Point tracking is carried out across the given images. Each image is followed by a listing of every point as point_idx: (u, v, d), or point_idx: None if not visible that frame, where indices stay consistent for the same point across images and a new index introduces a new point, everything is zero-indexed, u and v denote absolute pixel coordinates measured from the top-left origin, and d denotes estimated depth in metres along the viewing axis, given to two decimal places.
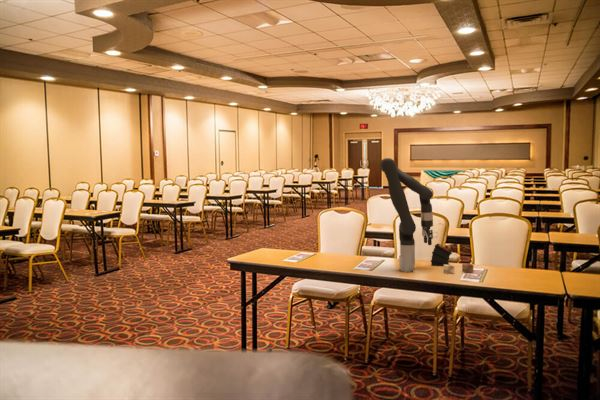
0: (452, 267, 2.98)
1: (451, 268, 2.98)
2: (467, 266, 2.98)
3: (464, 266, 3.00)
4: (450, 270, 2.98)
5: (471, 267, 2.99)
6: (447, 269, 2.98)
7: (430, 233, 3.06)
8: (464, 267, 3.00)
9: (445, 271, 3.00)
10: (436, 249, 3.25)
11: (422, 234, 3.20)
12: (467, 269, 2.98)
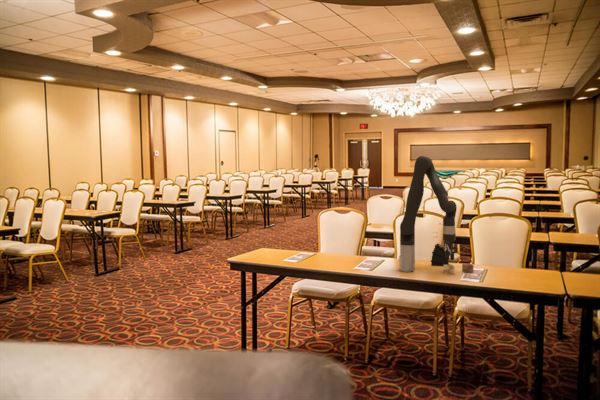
0: (452, 267, 2.98)
1: (451, 268, 2.98)
2: (467, 266, 2.98)
3: (464, 266, 3.00)
4: (450, 270, 2.98)
5: (471, 267, 2.99)
6: (447, 269, 2.98)
7: (453, 248, 2.93)
8: (464, 267, 3.00)
9: (445, 271, 3.00)
10: (436, 249, 3.25)
11: (443, 248, 3.06)
12: (467, 269, 2.98)
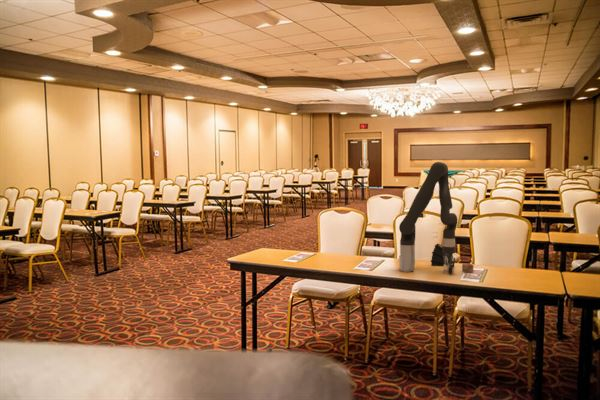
0: (452, 267, 2.98)
1: None
2: (467, 266, 2.98)
3: (464, 266, 3.00)
4: None
5: (471, 267, 2.99)
6: (447, 269, 2.98)
7: (452, 262, 2.94)
8: (464, 267, 3.00)
9: (445, 271, 3.00)
10: (436, 249, 3.25)
11: (444, 262, 3.05)
12: (467, 269, 2.98)
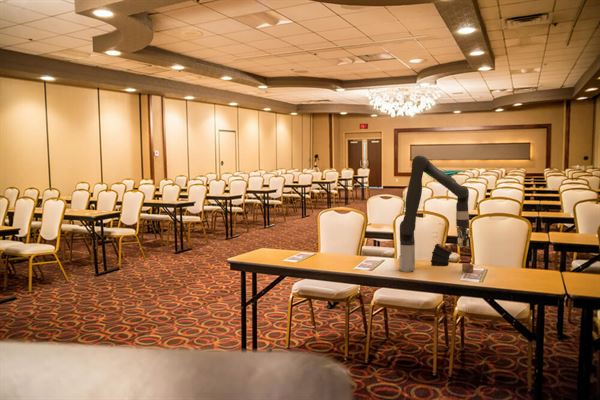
0: None
1: None
2: (467, 266, 2.98)
3: (464, 266, 3.00)
4: None
5: (471, 267, 2.99)
6: (461, 242, 2.97)
7: (466, 234, 2.93)
8: (464, 267, 3.00)
9: (459, 244, 2.98)
10: (436, 249, 3.25)
11: None
12: (467, 269, 2.98)
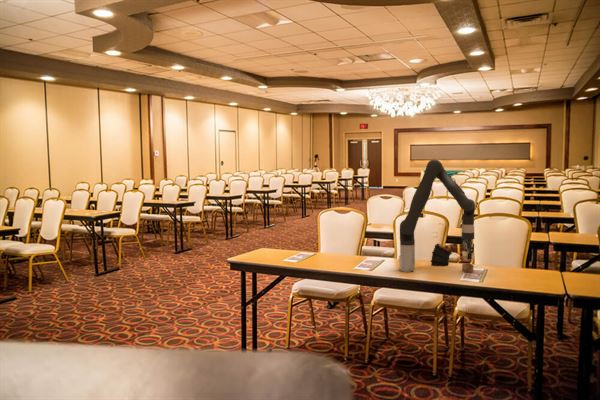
0: None
1: None
2: (467, 266, 2.98)
3: (464, 266, 3.00)
4: None
5: (471, 267, 2.99)
6: (466, 255, 2.98)
7: (471, 248, 2.94)
8: (464, 267, 3.00)
9: (464, 257, 3.00)
10: (436, 249, 3.25)
11: (462, 248, 3.05)
12: (467, 269, 2.98)
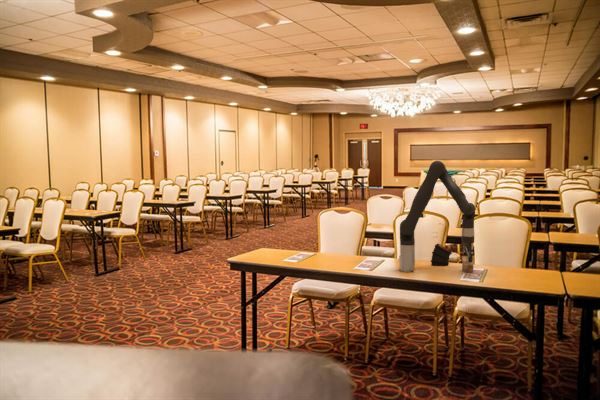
0: None
1: None
2: (467, 266, 2.98)
3: (464, 266, 3.00)
4: None
5: (471, 267, 2.99)
6: (466, 260, 2.98)
7: (472, 250, 2.93)
8: (464, 267, 3.00)
9: (464, 262, 3.00)
10: (436, 249, 3.25)
11: None
12: (467, 269, 2.99)
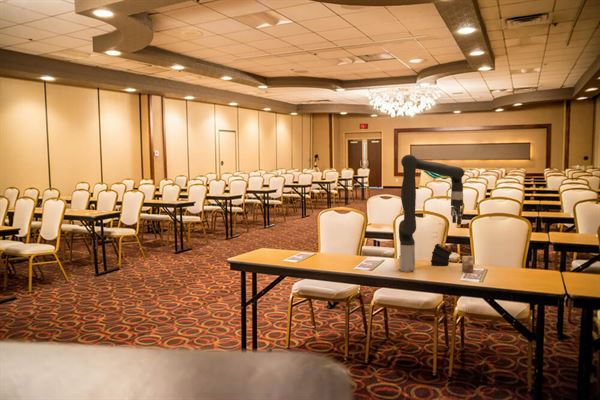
0: (471, 258, 2.98)
1: (470, 259, 2.98)
2: (467, 266, 2.98)
3: (464, 266, 3.00)
4: (470, 261, 2.98)
5: (471, 267, 2.99)
6: (466, 260, 2.98)
7: (460, 212, 3.02)
8: (464, 267, 3.00)
9: (464, 262, 3.00)
10: (436, 249, 3.25)
11: (451, 214, 3.16)
12: (467, 269, 2.99)
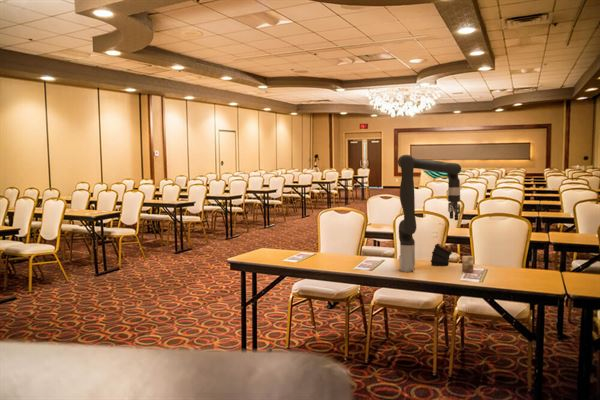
0: (471, 258, 2.98)
1: (470, 259, 2.98)
2: (467, 266, 2.98)
3: (464, 266, 3.00)
4: (470, 261, 2.98)
5: (471, 267, 2.99)
6: (466, 260, 2.98)
7: (457, 208, 3.04)
8: (464, 267, 3.00)
9: (464, 262, 3.00)
10: (436, 249, 3.25)
11: (448, 210, 3.18)
12: (467, 269, 2.99)
